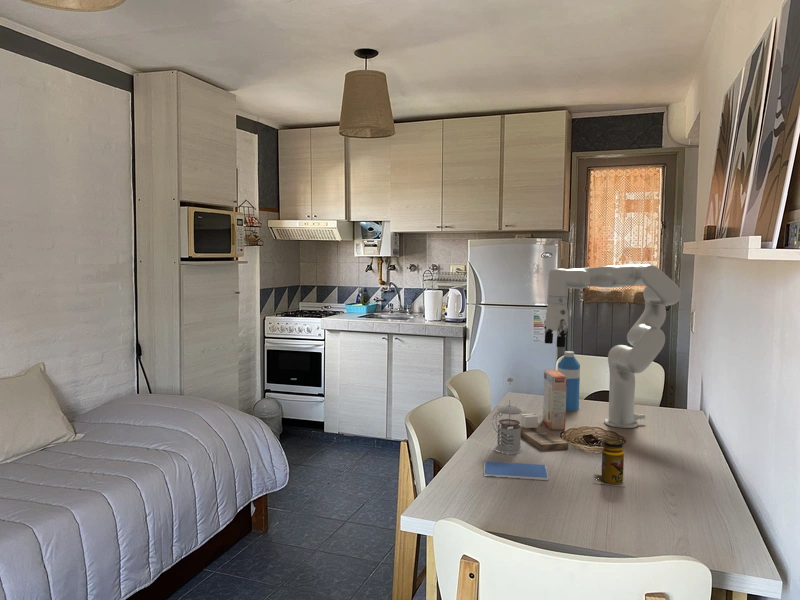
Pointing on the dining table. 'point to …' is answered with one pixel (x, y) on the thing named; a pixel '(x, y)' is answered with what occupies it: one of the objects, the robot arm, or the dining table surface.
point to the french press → (509, 430)
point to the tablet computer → (516, 470)
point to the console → (542, 438)
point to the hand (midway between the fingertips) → (554, 345)
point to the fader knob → (529, 420)
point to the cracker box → (554, 399)
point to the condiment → (612, 464)
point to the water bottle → (571, 379)
